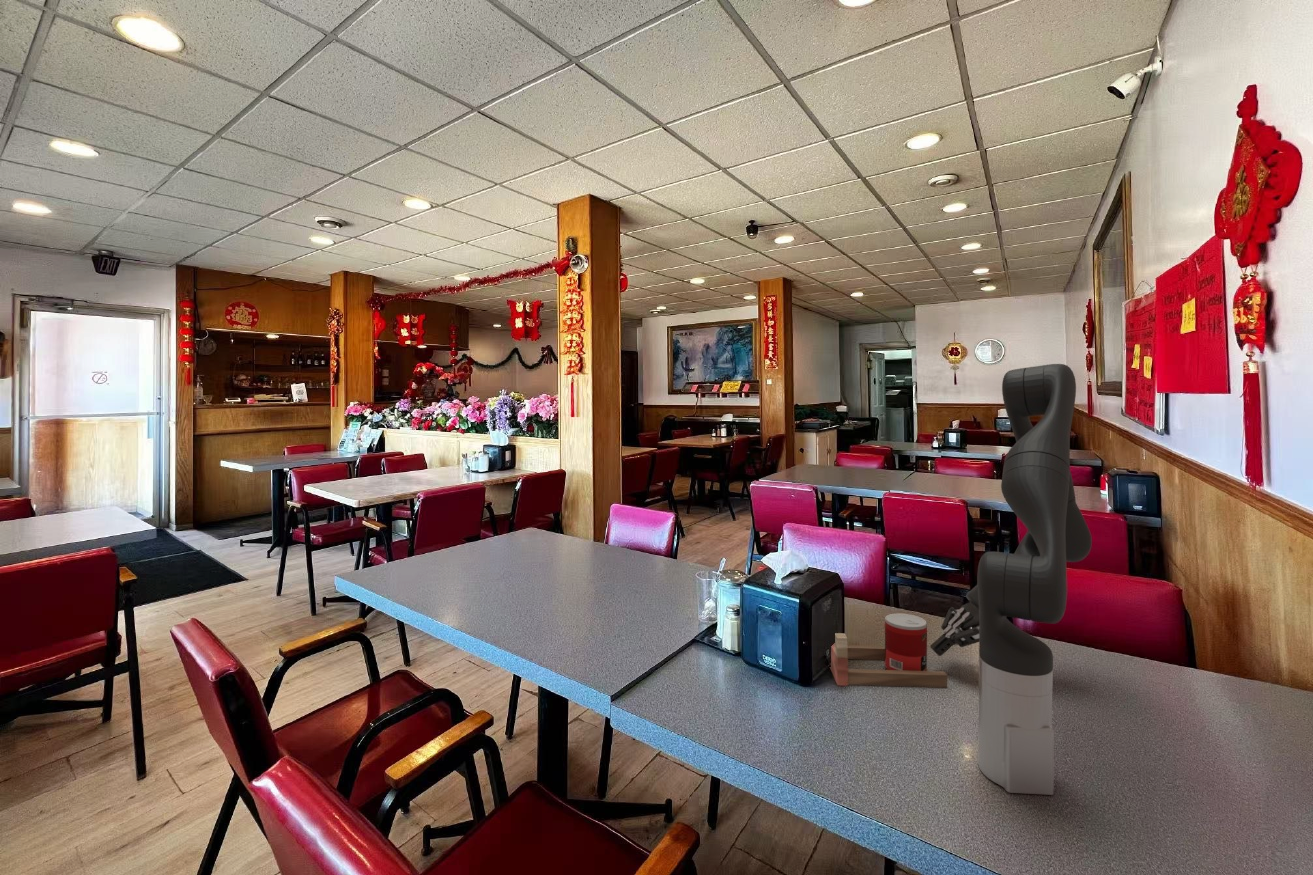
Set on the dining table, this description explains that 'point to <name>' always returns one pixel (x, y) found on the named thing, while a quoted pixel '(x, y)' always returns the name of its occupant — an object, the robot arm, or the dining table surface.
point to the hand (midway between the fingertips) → (934, 651)
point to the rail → (876, 677)
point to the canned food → (905, 642)
